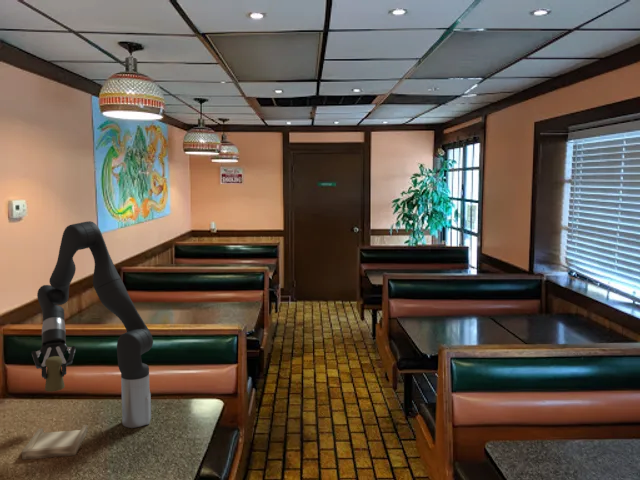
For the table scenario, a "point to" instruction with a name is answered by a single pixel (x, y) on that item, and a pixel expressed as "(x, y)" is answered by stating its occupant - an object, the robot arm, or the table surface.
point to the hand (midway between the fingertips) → (54, 376)
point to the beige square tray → (54, 443)
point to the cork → (54, 374)
